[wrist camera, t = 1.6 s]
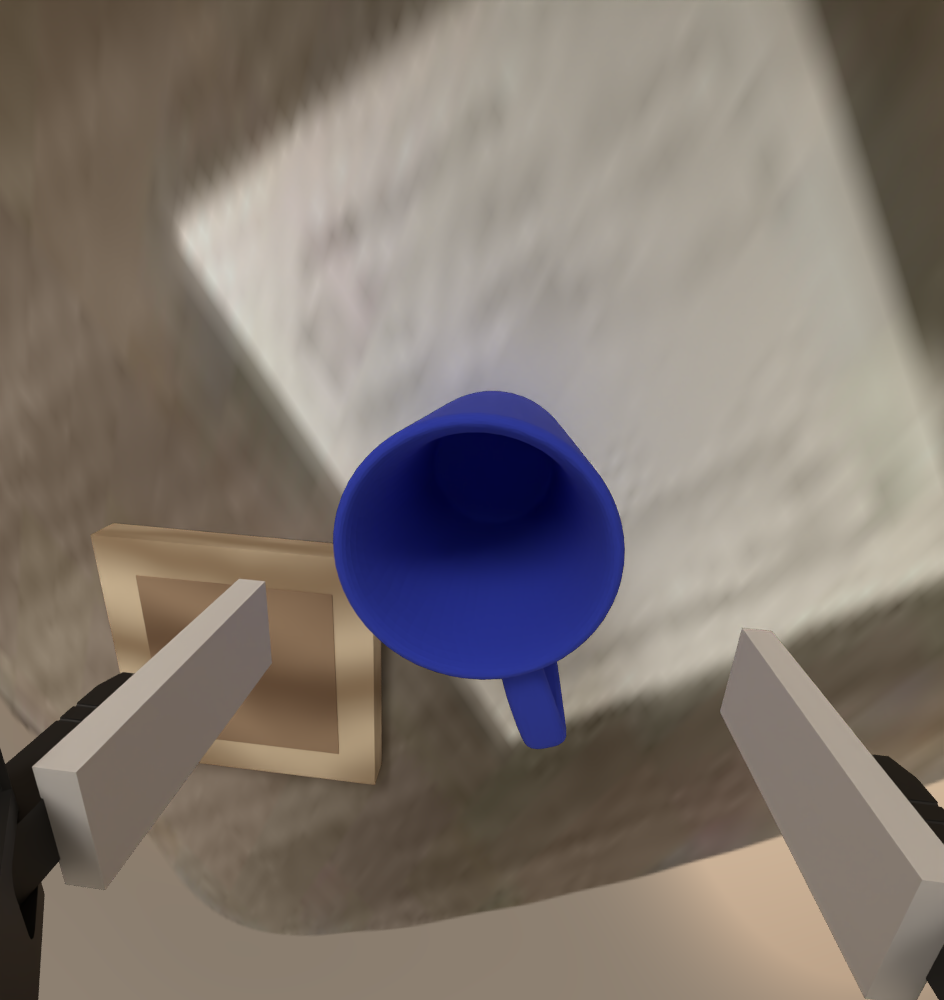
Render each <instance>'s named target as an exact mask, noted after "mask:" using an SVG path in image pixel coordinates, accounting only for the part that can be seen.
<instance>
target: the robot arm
mask: <svg viewBox="0 0 944 1000" xmlns="http://www.w3.org/2000/svg"><path fill="white" fill-rule="evenodd" d="M271 664H272V658H271V646H270V634H269V622H268V609H267V597H266V585H265V581H257V580H247V579H238V580H237V581H236V582H235V583H234V584H233V585H232V586H231V587H229V588H228V589H227V590H226V591H225V592H224V593H223V594H222V595H221V596H220V597H218V598H217V599H216V600H215V601H214V602H213V603H212V604H211V605H210V606H209V607H207V608H206V609H205V610H204V611H203V612H202V613H201V614H200V615H199V616H198V617H196V618H195V619H194V620H193V621H192V622H191V623H190V624H189V625H188V626H187V627H185V628H184V629H183V630H182V631H181V632H180V633H179V634H178V635H177V636H175V637H174V638H173V639H172V640H171V641H170V642H169V643H168V644H167V645H166V646H164V647H163V648H162V649H161V650H160V651H159V652H158V653H157V654H156V655H155V656H153V657H152V658H151V659H150V660H149V661H148V662H147V663H146V664H145V665H144V666H142V667H141V668H140V669H139V670H138V671H137V672H136V673H127V672H122V673H120V674H118V675H116V676H114V677H113V678H111V679H109V680H107V681H105V682H103V683H101V684H100V685H98V686H96V687H95V688H94V689H93V690H92V691H90V692H89V693H88V694H87V695H86V696H85V697H83V698H82V699H81V700H80V701H79V702H78V703H77V705H76V707H74V706H73V707H72V708H71V709H69V710H68V711H67V712H66V713H65V714H64V715H62V716H61V717H60V720H59V721H55V722H54V723H53V724H52V725H51V726H50V727H48V728H47V729H46V730H45V731H44V732H43V733H41V734H40V735H39V736H38V737H37V738H36V739H34V740H33V741H32V742H31V743H30V744H29V745H27V746H26V747H25V748H24V749H23V750H22V751H20V752H19V753H18V754H17V755H16V756H15V757H14V758H12V759H11V760H10V761H9V762H8V763H6V764H5V763H4V760H3V756H2V753H1V749H0V1000H38V993H39V978H40V977H39V976H40V960H41V944H42V928H43V911H44V891H43V887H42V883H41V881H42V880H43V879H44V878H45V876H47V874H48V873H49V872H50V871H51V870H52V868H53V867H54V866H55V865H56V864H57V863H58V862H59V863H60V867H61V871H62V874H63V878H64V881H65V884H67V885H74V886H81V887H88V888H95V889H103V890H105V889H106V888H107V887H108V886H109V884H110V883H111V882H112V880H113V879H114V877H115V876H116V875H117V873H118V872H119V871H120V869H121V868H122V867H123V865H124V864H125V862H126V861H127V860H128V858H129V857H130V856H131V854H132V853H133V852H134V850H135V849H136V847H137V846H138V845H139V843H140V842H141V841H142V839H143V838H144V837H145V835H146V834H147V832H148V831H149V830H150V828H151V827H152V826H153V824H154V823H155V822H156V820H157V819H158V818H159V816H160V815H161V813H162V812H163V811H164V809H165V808H166V807H167V805H168V804H169V803H170V801H171V800H172V798H173V797H174V796H175V794H176V793H177V792H178V790H179V789H180V788H181V786H182V785H183V783H184V782H185V781H186V779H187V778H188V777H189V775H190V774H191V773H192V771H193V770H194V768H195V767H196V766H197V764H198V763H199V762H200V760H201V759H202V758H203V756H204V755H205V753H206V752H207V751H208V749H209V748H210V747H211V745H212V744H213V743H214V741H215V740H216V738H217V737H218V736H219V734H220V733H221V732H222V730H223V729H224V728H225V726H226V725H227V724H228V722H229V721H230V719H231V718H232V717H233V715H234V714H235V713H236V711H237V710H238V709H239V707H240V706H241V704H242V703H243V702H244V700H245V699H246V698H247V696H248V695H249V694H250V692H251V691H252V689H253V688H254V687H255V685H256V684H257V683H258V681H259V680H260V679H261V677H262V676H263V674H264V673H265V672H266V670H267V669H268V668H269V666H270V665H271ZM720 713H721V715H722V717H723V719H724V721H725V723H726V725H727V727H728V729H729V731H730V733H731V735H732V737H733V739H734V741H735V743H736V745H737V747H738V748H739V750H740V752H741V754H742V756H743V758H744V760H745V762H746V764H747V766H748V768H749V770H750V772H751V774H752V776H753V778H754V780H755V782H756V784H757V786H758V788H759V790H760V792H761V794H762V796H763V798H764V800H765V802H766V804H767V806H768V808H769V810H770V812H771V814H772V816H773V818H774V820H775V822H776V824H777V826H778V828H779V830H780V832H781V834H782V836H783V838H784V839H785V842H786V844H787V846H788V847H789V849H790V851H791V853H792V855H793V857H794V859H795V861H796V863H797V865H798V867H799V869H800V871H801V873H802V875H803V877H804V879H805V881H806V883H807V885H808V887H809V889H810V891H811V893H812V895H813V897H814V899H815V901H816V903H817V905H818V907H819V909H820V911H821V913H822V915H823V917H824V919H825V921H826V923H827V925H828V927H829V929H830V931H831V933H832V935H833V937H834V939H835V940H836V943H837V945H838V947H839V948H840V951H841V953H842V955H843V956H844V958H845V960H846V962H847V964H848V966H849V968H850V970H851V972H852V974H853V976H854V978H855V980H856V982H857V984H858V986H859V988H860V990H861V992H862V994H863V996H864V998H865V999H872V1000H917V999H918V997H919V995H920V993H921V991H922V990H923V988H924V986H925V984H926V982H927V981H928V983H929V985H930V986H931V988H932V989H933V991H934V993H935V994H936V996H937V998H938V999H939V1000H944V809H943V808H942V807H939V806H938V804H937V803H938V802H937V801H936V800H935V799H934V797H933V796H932V795H931V794H930V793H929V792H928V791H927V789H926V788H925V787H924V786H923V785H922V784H921V782H920V781H919V780H918V779H917V778H916V777H915V776H913V775H912V774H911V773H909V772H908V771H907V770H906V769H904V768H903V767H902V766H900V765H899V764H898V763H897V762H895V761H894V760H893V759H891V758H890V757H889V756H880V755H871V754H870V752H869V751H868V750H867V749H866V747H865V746H864V745H863V744H862V742H861V741H860V740H859V739H858V737H857V736H856V735H855V734H854V732H853V731H852V730H851V729H850V727H849V726H848V725H847V724H846V722H845V721H844V720H843V719H842V718H841V716H840V715H839V714H838V713H837V711H836V710H835V709H834V708H833V706H832V705H831V704H830V703H829V701H828V700H827V699H826V698H825V696H824V695H823V694H822V693H821V691H820V690H819V689H818V688H817V686H816V685H815V684H814V683H813V681H812V680H811V679H810V678H809V676H808V675H807V674H806V673H805V671H804V670H803V669H802V668H801V667H800V665H799V664H798V663H797V662H796V660H795V659H794V658H793V657H792V655H791V654H790V653H789V652H788V650H787V649H786V648H785V647H784V645H783V644H782V643H781V642H780V640H779V639H778V638H777V637H776V635H775V634H774V633H773V632H772V631H767V630H757V629H747V628H742V631H741V634H740V638H739V642H738V646H737V649H736V653H735V657H734V661H733V665H732V668H731V672H730V676H729V680H728V684H727V687H726V691H725V695H724V699H723V702H722V706H721V710H720Z"/></svg>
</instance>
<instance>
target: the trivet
mask: <svg viewBox="0 0 944 1000" xmlns="http://www.w3.org/2000/svg"><path fill="white" fill-rule="evenodd" d="M91 539H92V544H93V549H94V553H95V558H96V563H97V567H98V572H99V576H100V581H101V586H102V590H103V595H104V600H105V604H106V609H107V614H108V618H109V623H110V628H111V632H112V637H113V642H114V646H115V651H116V655H117V660H118V665H119V669H120V673H122V672H127V673H136V672H137V671H138V670H139V669H140V668H141V667H142V666H144V665H145V664H146V663H147V662H148V661H149V660H150V659H151V658H152V657H153V656H155V655H156V654H157V653H158V652H159V651H160V650H161V649H162V648H163V647H164V646H166V645H167V644H168V643H169V642H170V641H171V640H172V639H173V638H174V637H175V636H177V635H178V634H179V633H180V632H181V631H182V630H183V629H184V628H185V627H187V626H188V625H189V624H190V623H191V622H192V621H193V620H194V619H195V618H196V617H198V616H199V615H200V614H201V613H202V612H203V611H204V610H205V609H206V608H207V607H209V606H210V605H211V604H212V603H213V602H214V601H215V600H216V599H217V598H218V597H220V596H221V595H222V594H223V593H224V592H225V591H226V590H227V589H228V588H229V587H231V586H232V585H233V584H234V583H235V582H236V581H237V580H238V579H247V580H257V581H265V585H266V597H267V609H268V622H269V634H270V646H271V658H272V664H271V665H270V666H269V668H268V669H267V670H266V672H265V673H264V674H263V676H262V677H261V679H260V680H259V681H258V683H257V684H256V685H255V687H254V688H253V689H252V691H251V692H250V694H249V695H248V696H247V698H246V699H245V700H244V702H243V703H242V704H241V706H240V707H239V709H238V710H237V711H236V713H235V714H234V715H233V717H232V718H231V719H230V721H229V722H228V724H227V725H226V726H225V728H224V729H223V730H222V732H221V733H220V734H219V736H218V737H217V738H216V740H215V741H214V743H213V744H212V745H211V747H210V748H209V749H208V751H207V752H206V753H205V755H204V756H203V758H202V759H201V760H200V762H199V763H203V764H211V765H219V766H227V767H235V768H243V769H251V770H259V771H267V772H276V773H284V774H292V775H300V776H308V777H316V778H324V779H332V780H340V781H348V782H356V783H364V784H372V785H375V783H376V780H377V777H378V773H379V770H380V767H381V764H382V723H381V641H380V640H379V639H378V638H377V637H376V636H375V635H374V634H373V633H372V632H371V631H370V630H369V629H368V628H367V627H366V626H365V625H364V623H363V622H362V621H361V620H360V618H359V617H358V616H357V614H356V613H355V611H354V609H353V608H352V606H351V605H350V603H349V601H348V599H347V597H346V595H345V593H344V591H343V588H342V586H341V583H340V580H339V577H338V573H337V569H336V565H335V559H334V550H333V543H323V542H312V541H301V540H290V539H279V538H268V537H258V536H247V535H236V534H225V533H214V532H203V531H192V530H182V529H171V528H160V527H149V526H138V525H127V524H116V523H113V524H111V525H109V526H107V527H105V528H103V529H101V530H99V531H97V532H95V533H93V534H91Z"/></svg>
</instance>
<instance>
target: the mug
mask: <svg viewBox="0 0 944 1000" xmlns="http://www.w3.org/2000/svg"><path fill="white" fill-rule="evenodd" d="M333 550H334V559H335V565H336V569H337V573H338V577H339V580H340V583H341V586H342V588H343V591H344V593H345V595H346V597H347V599H348V601H349V603H350V605H351V606H352V608H353V609H354V611H355V613H356V614H357V616H358V617H359V618H360V620H361V621H362V622H363V623H364V625H365V626H366V627H367V628H368V629H369V630H370V631H371V632H372V633H373V634H374V635H375V636H376V637H377V638H378V639H379V640H380V641H381V642H382V643H384V644H385V645H386V646H387V647H389V648H390V649H391V650H393V651H394V652H396V653H397V654H399V655H400V656H402V657H403V658H405V659H407V660H409V661H411V662H413V663H415V664H416V665H419V666H421V667H424V668H427V669H429V670H432V671H435V672H438V673H442V674H445V675H449V676H454V677H460V678H468V679H480V680H486V679H502V681H503V685H504V689H505V692H506V696H507V699H508V702H509V705H510V708H511V711H512V714H513V717H514V719H515V722H516V725H517V727H518V730H519V732H520V734H521V737H522V739H523V741H524V743H525V744H526V745H527V746H528V747H530V748H533V749H543V748H549V747H553V746H557V745H559V744H561V743H562V742H563V741H564V740H565V738H566V724H565V716H564V709H563V701H562V694H561V687H560V679H559V672H558V665H557V661H559V660H560V659H562V658H564V657H565V656H567V655H568V654H570V653H571V652H573V651H574V650H576V649H577V648H578V647H579V646H580V645H581V644H583V643H584V642H585V641H586V640H587V639H588V638H589V637H590V636H591V635H592V634H593V633H594V632H595V630H596V629H597V628H598V626H599V625H600V624H601V623H602V621H603V620H604V618H605V617H606V615H607V613H608V611H609V610H610V608H611V606H612V604H613V602H614V600H615V597H616V595H617V592H618V589H619V586H620V582H621V578H622V573H623V567H624V554H625V548H624V535H623V529H622V524H621V520H620V516H619V513H618V510H617V507H616V505H615V502H614V500H613V497H612V495H611V493H610V491H609V489H608V488H607V486H606V484H605V483H604V481H603V480H602V478H601V477H600V475H599V474H598V473H597V471H596V470H595V469H594V467H593V466H592V465H591V464H590V462H589V461H588V460H587V459H586V457H585V456H584V455H583V453H582V452H581V451H580V450H579V448H578V447H577V446H576V445H575V443H574V442H573V441H572V440H571V438H570V437H569V436H568V435H567V433H566V432H565V431H564V430H563V428H562V427H561V426H560V425H559V423H558V422H557V421H556V420H555V419H554V418H553V417H552V416H551V415H550V414H549V413H548V412H547V411H546V410H545V409H543V408H542V407H541V406H539V405H538V404H536V403H535V402H533V401H531V400H529V399H527V398H525V397H522V396H519V395H516V394H513V393H508V392H501V391H483V392H477V393H472V394H469V395H465V396H463V397H460V398H458V399H456V400H454V401H452V402H450V403H448V404H446V405H444V406H443V407H441V408H439V409H437V410H436V411H434V412H432V413H430V414H429V415H427V416H425V417H423V418H422V419H420V420H418V421H416V422H415V423H413V424H411V425H409V426H408V427H406V428H404V429H402V430H401V431H399V432H397V433H395V434H394V435H392V436H391V437H389V438H388V439H387V440H385V441H384V442H382V443H381V444H380V445H379V446H378V447H376V448H375V449H374V450H373V451H372V452H371V453H370V454H369V455H368V456H367V457H366V458H365V459H364V461H363V462H362V463H361V464H360V465H359V467H358V468H357V469H356V471H355V472H354V474H353V476H352V477H351V479H350V480H349V482H348V484H347V486H346V488H345V490H344V492H343V494H342V497H341V500H340V503H339V506H338V509H337V513H336V518H335V524H334V532H333Z"/></svg>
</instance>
